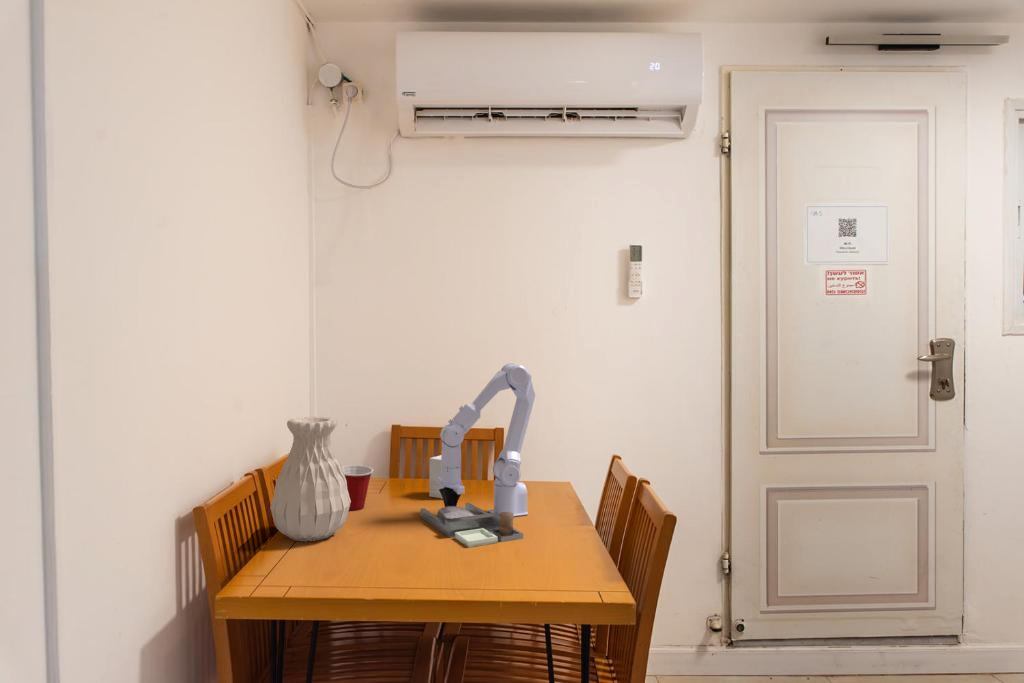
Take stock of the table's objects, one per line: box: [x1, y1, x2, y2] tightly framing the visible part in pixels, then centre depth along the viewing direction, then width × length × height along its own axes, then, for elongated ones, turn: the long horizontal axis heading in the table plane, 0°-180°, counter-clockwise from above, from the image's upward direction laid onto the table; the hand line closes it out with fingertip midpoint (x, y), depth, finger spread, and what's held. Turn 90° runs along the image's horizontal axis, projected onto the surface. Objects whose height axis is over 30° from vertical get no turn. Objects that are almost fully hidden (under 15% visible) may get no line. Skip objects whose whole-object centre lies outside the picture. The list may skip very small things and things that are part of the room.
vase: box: [270, 416, 351, 542], centre depth 171 cm, size 20×20×30 cm
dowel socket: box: [489, 527, 524, 543], centre depth 172 cm, size 7×7×1 cm
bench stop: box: [419, 502, 500, 539], centre depth 183 cm, size 15×21×4 cm
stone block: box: [437, 506, 474, 522], centre depth 183 cm, size 12×5×10 cm
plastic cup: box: [341, 464, 374, 512], centre depth 196 cm, size 11×11×12 cm
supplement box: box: [428, 454, 444, 500], centre depth 213 cm, size 7×7×13 cm
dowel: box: [499, 512, 514, 536], centre depth 172 cm, size 4×4×6 cm
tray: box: [454, 528, 499, 548], centre depth 168 cm, size 8×8×2 cm
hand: (450, 513), depth 189 cm, fingers closed
